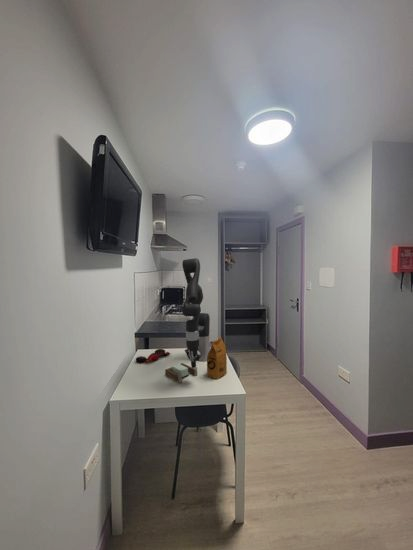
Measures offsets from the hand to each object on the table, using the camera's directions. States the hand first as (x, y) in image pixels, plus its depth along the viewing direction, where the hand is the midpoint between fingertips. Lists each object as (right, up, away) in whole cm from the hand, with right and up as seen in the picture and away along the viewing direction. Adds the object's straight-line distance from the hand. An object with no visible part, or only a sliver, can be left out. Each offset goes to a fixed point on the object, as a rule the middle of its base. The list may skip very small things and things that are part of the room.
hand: (193, 367), depth 136 cm
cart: (-9, -8, +8) cm, 14 cm away
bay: (-8, -8, +8) cm, 14 cm away
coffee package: (+14, -8, +8) cm, 18 cm away
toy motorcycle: (-31, -8, +35) cm, 47 cm away
